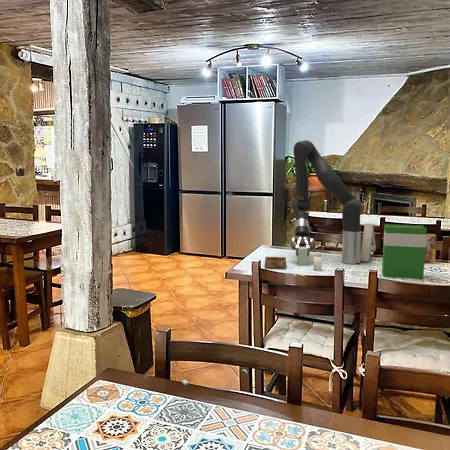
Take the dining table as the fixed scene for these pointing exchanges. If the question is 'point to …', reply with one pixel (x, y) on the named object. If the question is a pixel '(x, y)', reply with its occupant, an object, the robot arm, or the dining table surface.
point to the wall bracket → (368, 243)
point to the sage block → (302, 256)
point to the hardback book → (404, 251)
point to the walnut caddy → (275, 262)
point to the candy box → (430, 248)
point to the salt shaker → (318, 261)
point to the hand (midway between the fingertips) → (302, 255)
